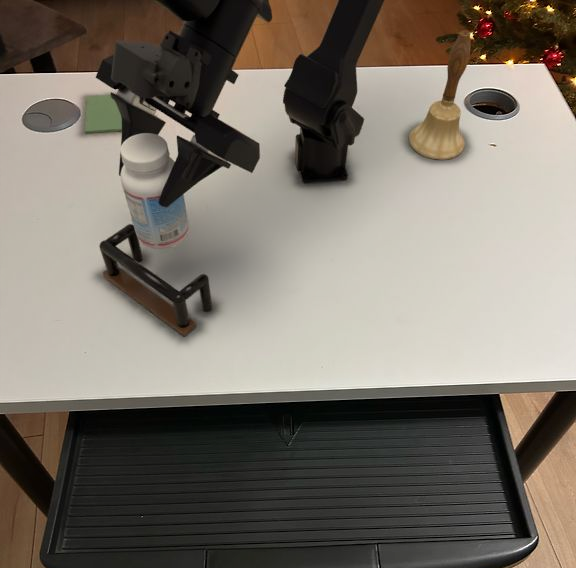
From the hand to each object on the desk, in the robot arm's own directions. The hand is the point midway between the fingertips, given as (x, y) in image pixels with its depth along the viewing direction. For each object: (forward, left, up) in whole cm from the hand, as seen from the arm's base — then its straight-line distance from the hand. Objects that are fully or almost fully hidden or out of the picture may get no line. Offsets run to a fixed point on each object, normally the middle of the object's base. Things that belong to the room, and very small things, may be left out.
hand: (142, 191), depth 63 cm
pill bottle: (-1, -1, -7) cm, 7 cm away
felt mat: (+6, -35, -13) cm, 38 cm away
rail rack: (0, +2, -13) cm, 13 cm away
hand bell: (-41, -23, -13) cm, 49 cm away
